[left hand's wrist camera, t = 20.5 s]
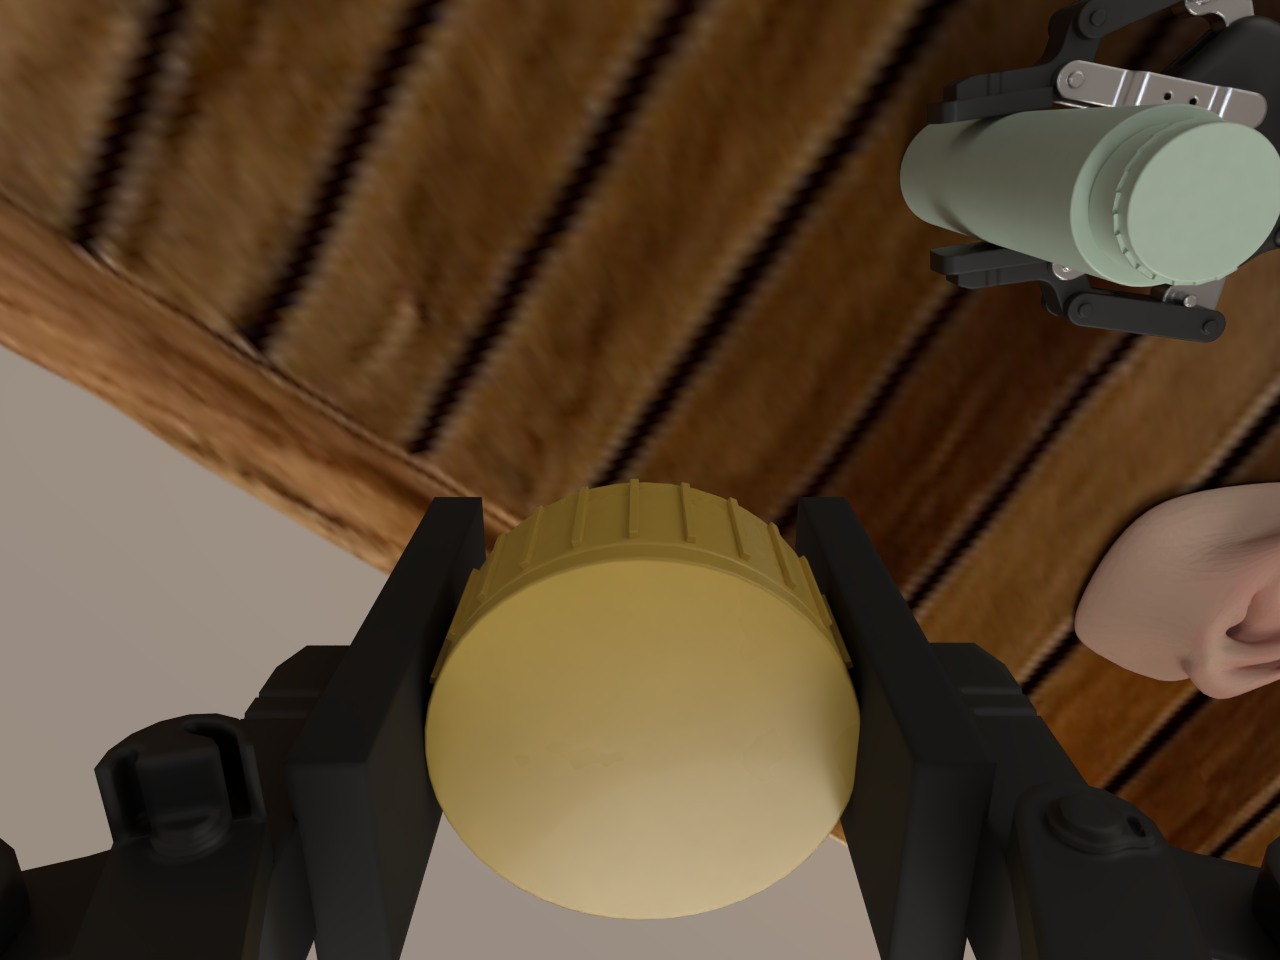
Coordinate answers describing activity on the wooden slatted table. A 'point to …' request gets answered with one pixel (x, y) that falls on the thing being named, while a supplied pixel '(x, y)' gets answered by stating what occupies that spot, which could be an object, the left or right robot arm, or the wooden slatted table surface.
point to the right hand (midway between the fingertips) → (937, 190)
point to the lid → (642, 705)
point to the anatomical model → (1193, 592)
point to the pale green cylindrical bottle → (1103, 189)
